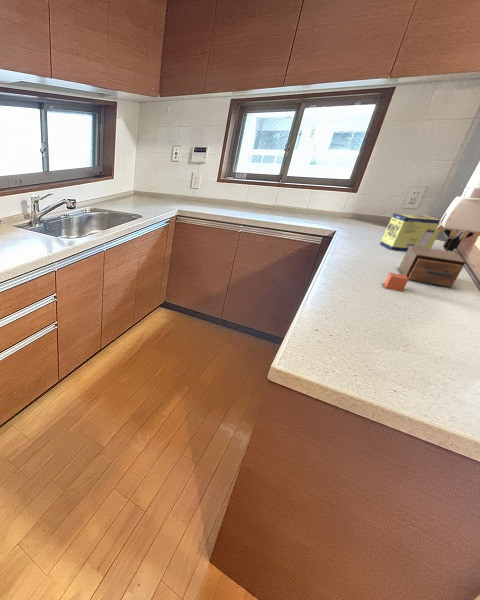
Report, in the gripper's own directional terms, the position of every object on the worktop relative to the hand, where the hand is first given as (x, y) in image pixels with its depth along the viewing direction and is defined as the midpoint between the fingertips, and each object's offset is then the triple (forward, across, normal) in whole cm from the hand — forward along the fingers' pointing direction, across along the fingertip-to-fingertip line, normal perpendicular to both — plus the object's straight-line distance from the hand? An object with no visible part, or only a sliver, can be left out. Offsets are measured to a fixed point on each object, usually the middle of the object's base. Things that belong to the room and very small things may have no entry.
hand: (448, 250), depth 110 cm
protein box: (+13, 0, -58) cm, 60 cm away
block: (+14, +11, +10) cm, 20 cm away
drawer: (+13, 0, -6) cm, 14 cm away
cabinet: (+13, 0, -11) cm, 17 cm away
